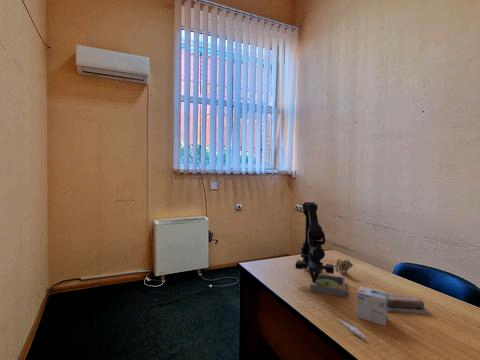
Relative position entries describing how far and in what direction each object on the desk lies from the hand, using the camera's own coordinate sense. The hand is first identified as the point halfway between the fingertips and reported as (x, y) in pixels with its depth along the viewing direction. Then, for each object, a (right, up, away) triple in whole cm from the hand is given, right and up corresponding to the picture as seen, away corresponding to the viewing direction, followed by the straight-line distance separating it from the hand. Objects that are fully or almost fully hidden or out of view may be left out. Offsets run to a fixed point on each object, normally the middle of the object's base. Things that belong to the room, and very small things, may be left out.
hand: (314, 282), depth 138 cm
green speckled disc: (+6, -1, -2) cm, 6 cm away
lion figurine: (+21, -1, +17) cm, 27 cm away
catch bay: (+6, -1, -2) cm, 6 cm away
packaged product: (+32, -3, -21) cm, 39 cm away
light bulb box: (+15, -3, -30) cm, 33 cm away
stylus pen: (+3, -3, -37) cm, 38 cm away
